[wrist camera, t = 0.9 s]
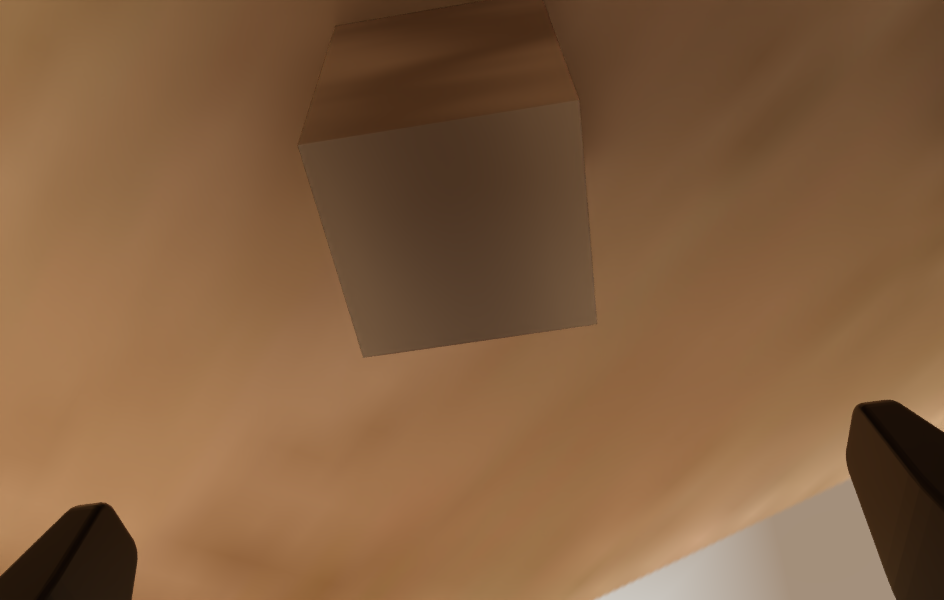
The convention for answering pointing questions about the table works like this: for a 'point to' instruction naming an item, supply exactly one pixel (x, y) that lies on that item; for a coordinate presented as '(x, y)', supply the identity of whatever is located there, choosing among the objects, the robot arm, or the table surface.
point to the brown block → (452, 177)
